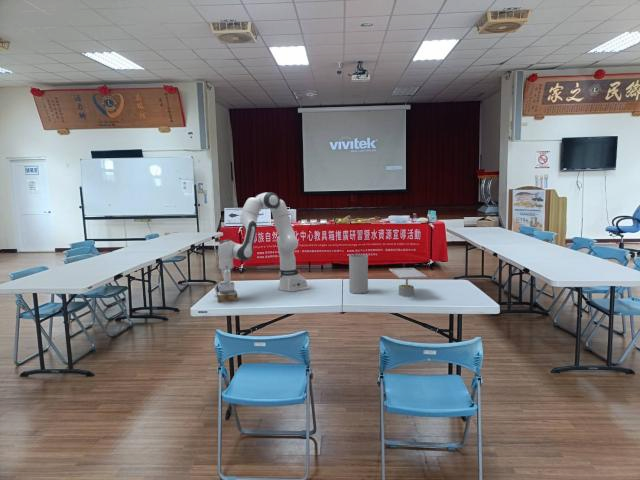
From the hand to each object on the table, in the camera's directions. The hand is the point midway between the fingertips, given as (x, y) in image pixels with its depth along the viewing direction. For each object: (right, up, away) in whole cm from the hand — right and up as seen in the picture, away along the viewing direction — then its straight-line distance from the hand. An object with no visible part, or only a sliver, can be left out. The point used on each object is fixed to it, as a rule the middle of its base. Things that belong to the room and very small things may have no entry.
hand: (227, 286), depth 278 cm
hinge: (-5, -8, +17) cm, 19 cm away
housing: (0, -4, 0) cm, 4 cm away
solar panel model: (+117, -6, +8) cm, 118 cm away
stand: (0, -9, +1) cm, 9 cm away
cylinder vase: (+86, -6, +17) cm, 88 cm away
